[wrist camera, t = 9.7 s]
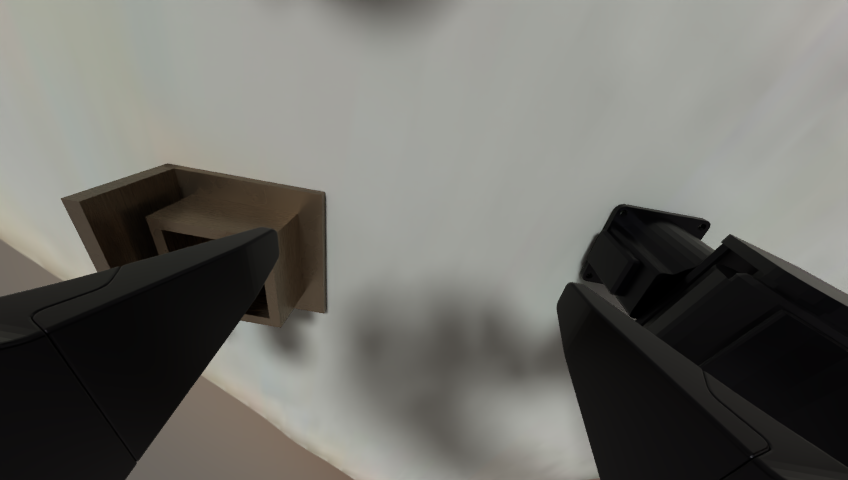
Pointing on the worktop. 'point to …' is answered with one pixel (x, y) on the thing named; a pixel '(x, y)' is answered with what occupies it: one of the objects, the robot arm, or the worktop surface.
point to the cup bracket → (209, 228)
